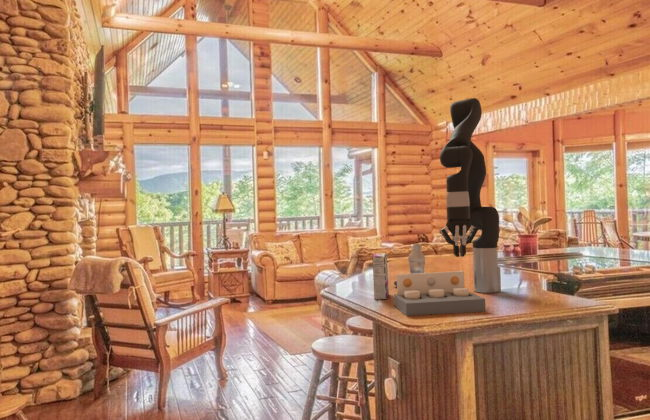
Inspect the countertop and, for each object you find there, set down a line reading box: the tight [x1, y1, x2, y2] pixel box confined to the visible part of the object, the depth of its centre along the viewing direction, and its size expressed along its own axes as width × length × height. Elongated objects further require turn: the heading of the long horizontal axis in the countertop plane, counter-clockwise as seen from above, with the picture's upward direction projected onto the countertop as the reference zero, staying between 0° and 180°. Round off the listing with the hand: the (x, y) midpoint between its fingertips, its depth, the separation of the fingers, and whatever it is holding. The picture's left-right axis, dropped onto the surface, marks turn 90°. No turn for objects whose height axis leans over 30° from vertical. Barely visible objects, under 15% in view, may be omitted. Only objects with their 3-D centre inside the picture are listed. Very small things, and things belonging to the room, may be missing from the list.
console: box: [393, 270, 487, 317], centre depth 160 cm, size 26×16×11 cm, turn 95°
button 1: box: [404, 290, 420, 299], centre depth 161 cm, size 5×5×3 cm
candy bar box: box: [372, 252, 390, 300], centre depth 184 cm, size 11×5×16 cm, turn 168°
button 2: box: [453, 287, 470, 297], centre depth 162 cm, size 5×5×3 cm
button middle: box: [429, 289, 444, 298], centre depth 161 cm, size 5×5×3 cm
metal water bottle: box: [407, 243, 426, 274], centre depth 180 cm, size 6×7×20 cm
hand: (459, 256), depth 162 cm, fingers closed
